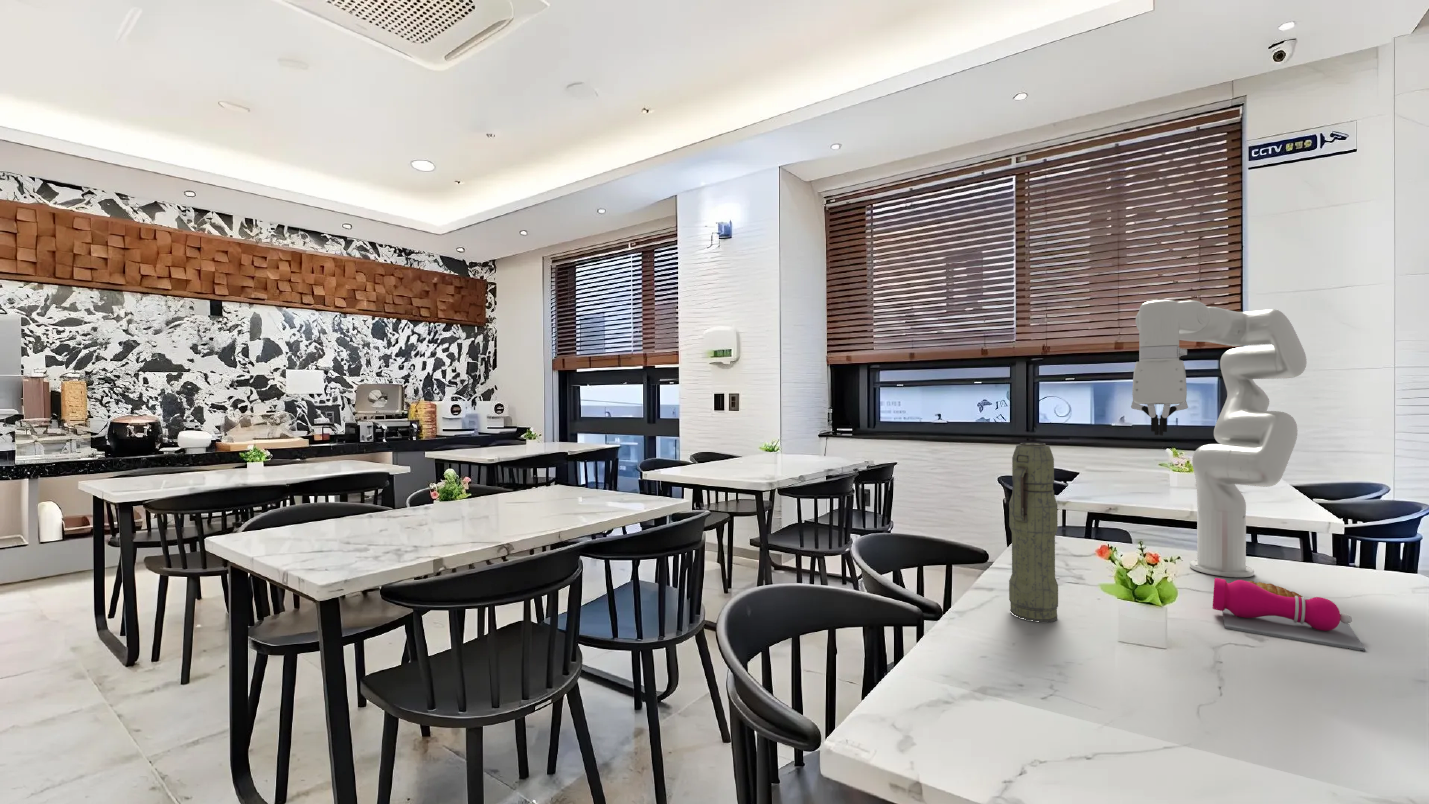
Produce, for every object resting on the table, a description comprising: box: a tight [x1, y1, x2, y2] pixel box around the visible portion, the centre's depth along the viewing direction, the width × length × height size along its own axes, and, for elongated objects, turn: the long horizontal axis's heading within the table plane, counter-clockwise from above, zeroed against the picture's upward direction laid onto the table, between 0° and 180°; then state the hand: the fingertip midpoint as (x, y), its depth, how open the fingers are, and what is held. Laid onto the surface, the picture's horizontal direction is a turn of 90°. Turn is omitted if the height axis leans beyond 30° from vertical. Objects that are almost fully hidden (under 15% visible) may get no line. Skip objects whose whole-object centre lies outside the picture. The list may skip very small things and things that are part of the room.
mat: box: [1221, 609, 1366, 652], centre depth 123 cm, size 15×19×1 cm
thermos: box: [1008, 442, 1059, 623], centre depth 130 cm, size 9×12×35 cm
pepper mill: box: [1212, 577, 1353, 631], centre depth 123 cm, size 7×7×20 cm
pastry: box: [1248, 580, 1304, 597], centre depth 137 cm, size 9×7×4 cm
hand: (1159, 435), depth 147 cm, fingers closed
